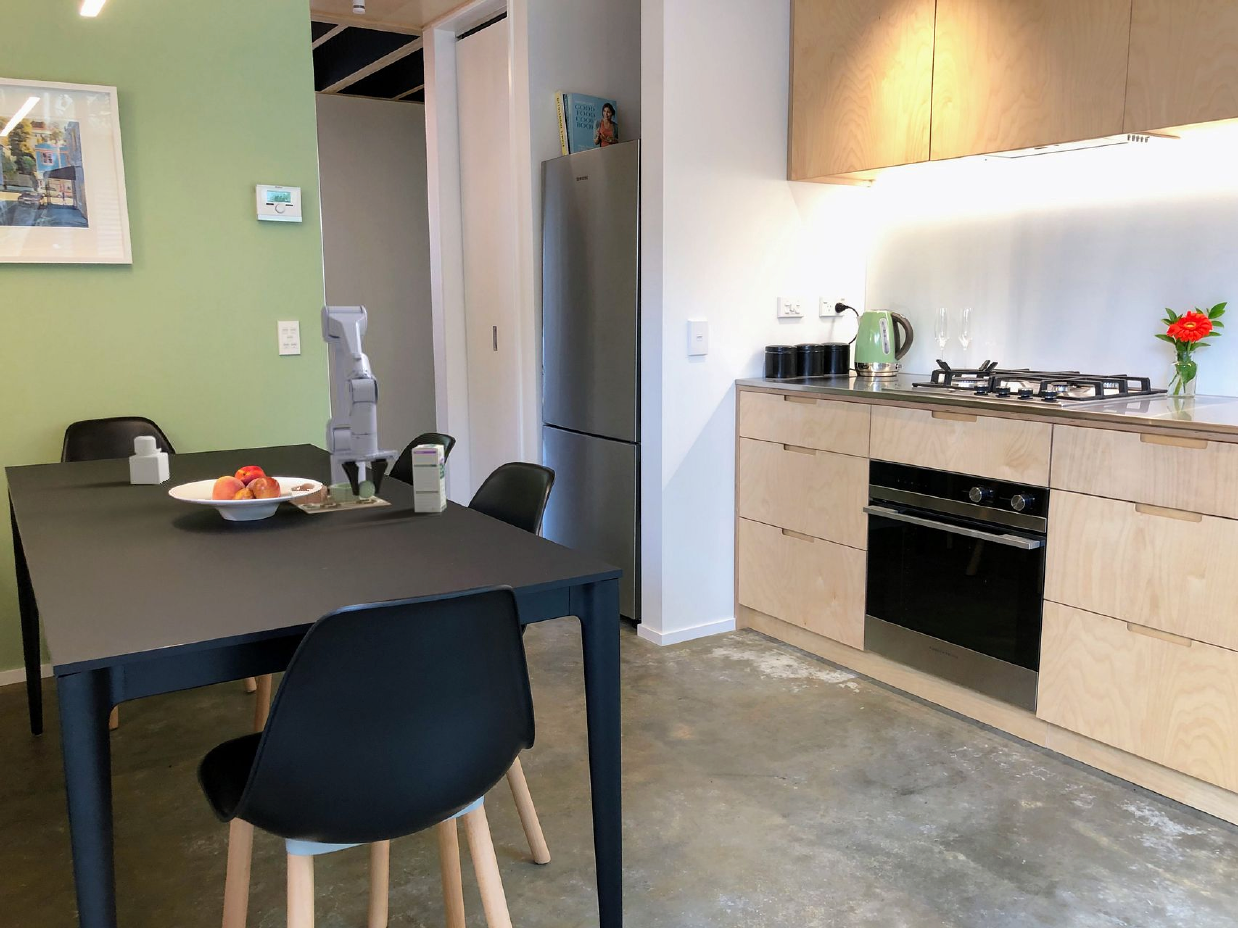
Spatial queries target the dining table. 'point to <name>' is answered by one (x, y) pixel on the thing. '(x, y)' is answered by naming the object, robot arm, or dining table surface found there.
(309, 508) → the board
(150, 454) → the medicine bottle
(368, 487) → the sage ball
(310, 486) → the terracotta ball
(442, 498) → the syrup box
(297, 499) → the terracotta tube
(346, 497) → the green octagonal ring
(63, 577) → the dining table surface
